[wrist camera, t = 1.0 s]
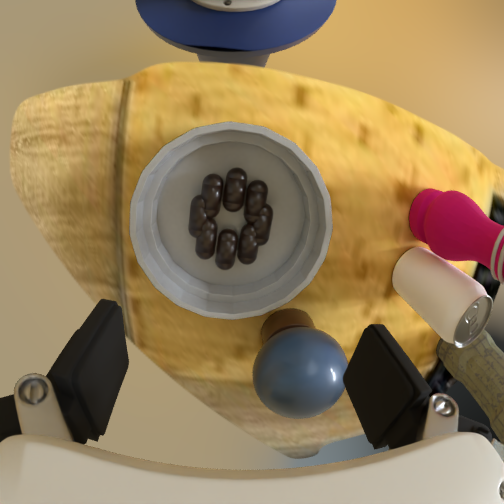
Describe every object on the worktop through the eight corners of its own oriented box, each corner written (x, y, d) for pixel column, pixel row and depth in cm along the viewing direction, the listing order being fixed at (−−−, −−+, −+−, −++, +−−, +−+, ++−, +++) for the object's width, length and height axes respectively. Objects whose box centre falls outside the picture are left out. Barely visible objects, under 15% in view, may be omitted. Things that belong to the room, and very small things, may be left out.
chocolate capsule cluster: (197, 161, 22) (194, 162, 21) (278, 173, 23) (282, 174, 22) (186, 260, 26) (183, 268, 24) (261, 269, 26) (263, 277, 25)
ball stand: (255, 292, 28) (268, 372, 17) (334, 299, 29) (379, 369, 18) (242, 356, 31) (248, 436, 20) (313, 359, 32) (339, 431, 21)
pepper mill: (453, 193, 26) (586, 250, 7) (438, 248, 28) (556, 332, 9) (413, 176, 25) (576, 231, 6) (397, 238, 27) (535, 341, 8)
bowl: (155, 120, 21) (139, 114, 17) (330, 146, 23) (349, 146, 19) (143, 283, 27) (130, 306, 22) (296, 301, 29) (306, 325, 24)
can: (422, 234, 27) (494, 277, 16) (435, 272, 29) (495, 320, 18) (382, 267, 28) (446, 326, 17) (399, 303, 30) (453, 362, 19)
